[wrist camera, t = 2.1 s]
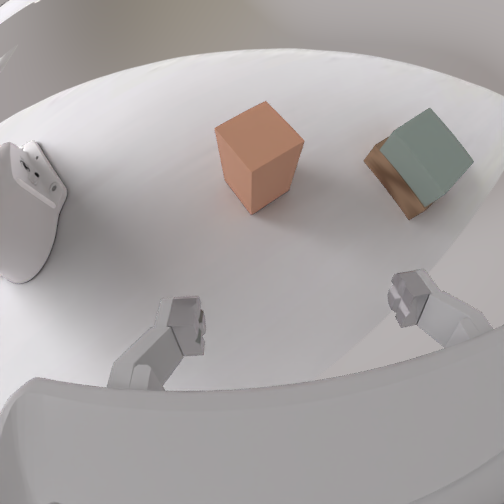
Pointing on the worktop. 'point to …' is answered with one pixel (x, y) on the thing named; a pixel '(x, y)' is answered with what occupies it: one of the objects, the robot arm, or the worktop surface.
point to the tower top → (427, 156)
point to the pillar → (258, 155)
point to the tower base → (394, 182)
